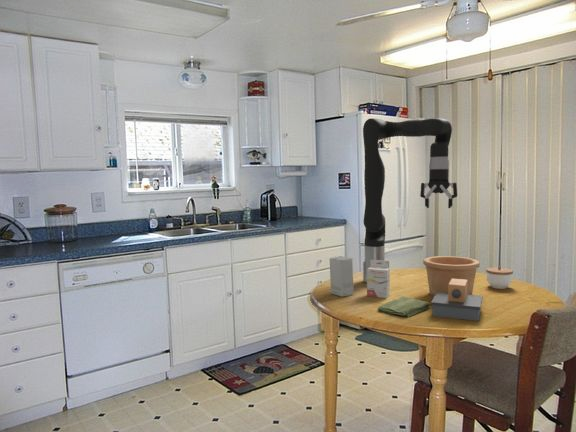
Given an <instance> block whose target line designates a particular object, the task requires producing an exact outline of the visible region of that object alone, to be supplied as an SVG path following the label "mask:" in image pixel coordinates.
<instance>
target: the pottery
mask: <svg viewBox="0 0 576 432" xmlns="http://www.w3.org/2000/svg"><path fill="white" fill-rule="evenodd" d="M422 264H423V265H424V266H425V267H426V268H425V269H426V276H427V277H426V278H427V282H428V284H427V285H428V291H429V294H430V295H431V296H432V297H433V298H434V297H435V295H436V293H437V292H447V293H448V284H449V282H450V281H451V279H465V280H468V287H467V294H469V295H473V293H474V292H473V290H474V286H475V285H474V284H475V279H476V273H477V268H480V265H481V264H480V260H477V259H474V258H471V257H464V256H453V255H438V256H437V255H435V256H428V257H426V258H424V259H423V262H422Z"/></svg>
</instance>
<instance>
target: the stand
mask: <svg viewBox="0 0 576 432" xmlns="http://www.w3.org/2000/svg"><path fill="white" fill-rule="evenodd" d="M483 299H484V297H483V295H479V294H472V295H469V294H467V298H466V301H465V303H464V302H454V301H448V293H447V292H437V293H436V295H435V297H434V296H433V298H432V300H431V302H430V306H432V316H433V317H439V318H441V317H442V318H447V319H448V318H449V319H458V320H467V321H475V322H476V321H477V322H479V320H480V315H481V312H482V311H481V310H482V302H483Z"/></svg>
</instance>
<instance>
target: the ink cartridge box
mask: <svg viewBox="0 0 576 432" xmlns="http://www.w3.org/2000/svg"><path fill="white" fill-rule="evenodd" d="M379 262H380V263H383V264H376V263H379ZM390 272H391V269H390V260H385V261H384V260H370V267H369V268H368V269H367V283H366V296H367V297H374V298H381V299H382V298H383V299H388V298H389V296H390V281H391V280H390V279H391V276H390V275H391V274H390Z"/></svg>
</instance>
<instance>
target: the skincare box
mask: <svg viewBox="0 0 576 432" xmlns="http://www.w3.org/2000/svg"><path fill="white" fill-rule="evenodd" d="M353 265H354V264H353V258H351V257H346V256H335V257H333V256H332V257H330V258H329V274H330V275H329V276H330V280H329V281H330V294H331V295H336V296H338V297H341V298H342V297H343V298H344V297H349V296H353V295H354V273H353V272H354V268H353V267H354V266H353Z"/></svg>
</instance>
